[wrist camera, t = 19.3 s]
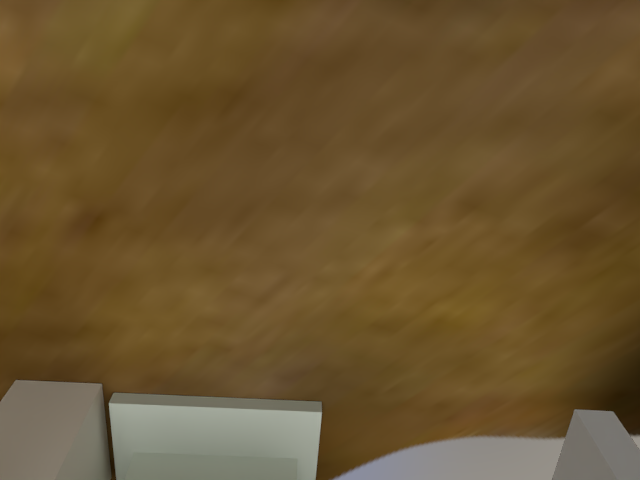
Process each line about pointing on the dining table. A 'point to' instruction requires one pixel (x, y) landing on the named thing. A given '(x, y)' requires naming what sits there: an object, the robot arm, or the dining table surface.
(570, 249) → the dining table surface
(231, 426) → the stand
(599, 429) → the robot arm
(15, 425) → the post
